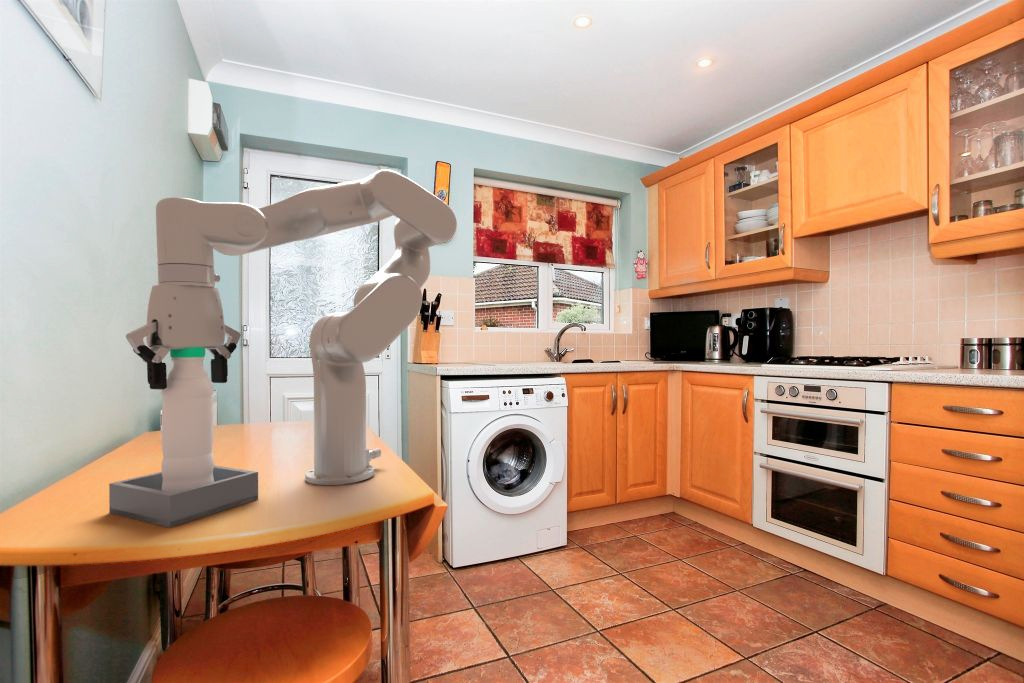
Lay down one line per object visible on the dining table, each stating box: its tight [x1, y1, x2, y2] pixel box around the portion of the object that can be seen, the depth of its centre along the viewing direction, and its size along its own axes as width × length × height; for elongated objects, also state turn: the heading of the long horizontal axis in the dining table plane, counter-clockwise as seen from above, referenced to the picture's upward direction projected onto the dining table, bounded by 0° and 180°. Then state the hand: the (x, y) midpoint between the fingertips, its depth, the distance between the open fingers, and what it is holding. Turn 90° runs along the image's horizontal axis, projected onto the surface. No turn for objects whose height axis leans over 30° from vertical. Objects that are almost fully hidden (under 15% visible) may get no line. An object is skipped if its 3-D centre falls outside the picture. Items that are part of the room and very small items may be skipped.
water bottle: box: [160, 347, 215, 493], centre depth 80 cm, size 7×7×25 cm
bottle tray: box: [108, 464, 259, 529], centre depth 79 cm, size 14×15×4 cm
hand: (190, 385), depth 80 cm, fingers open, 9 cm apart
